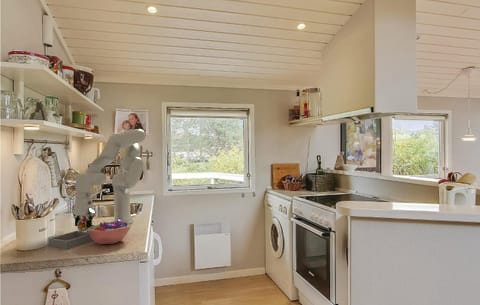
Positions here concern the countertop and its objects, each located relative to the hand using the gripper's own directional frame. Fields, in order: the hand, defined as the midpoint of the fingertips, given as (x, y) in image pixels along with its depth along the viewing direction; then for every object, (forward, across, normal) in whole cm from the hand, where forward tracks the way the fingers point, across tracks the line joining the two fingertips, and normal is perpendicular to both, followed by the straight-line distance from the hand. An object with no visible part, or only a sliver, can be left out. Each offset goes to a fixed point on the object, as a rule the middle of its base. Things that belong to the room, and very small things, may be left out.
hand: (83, 226), depth 166 cm
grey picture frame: (+4, -12, +16) cm, 20 cm away
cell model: (+4, -29, +8) cm, 31 cm away
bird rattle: (+4, 0, -1) cm, 4 cm away
